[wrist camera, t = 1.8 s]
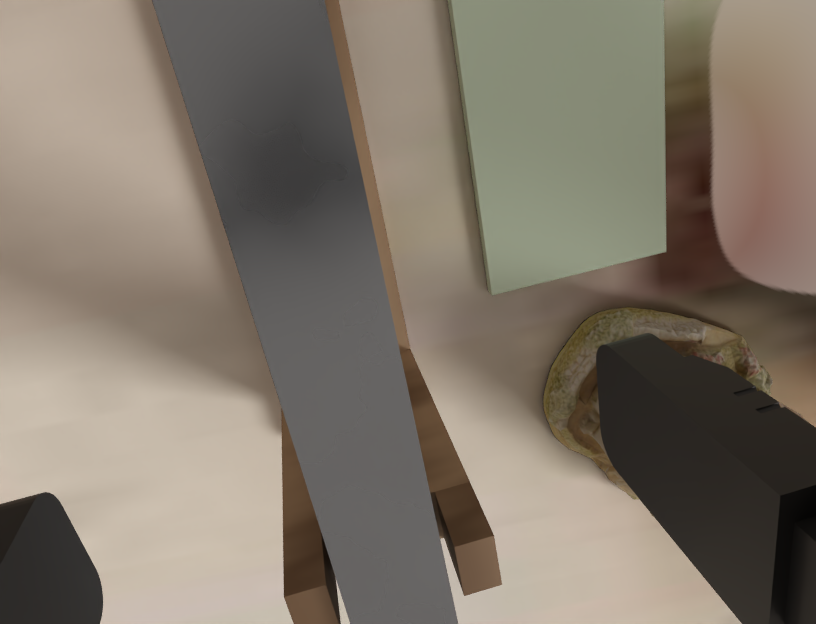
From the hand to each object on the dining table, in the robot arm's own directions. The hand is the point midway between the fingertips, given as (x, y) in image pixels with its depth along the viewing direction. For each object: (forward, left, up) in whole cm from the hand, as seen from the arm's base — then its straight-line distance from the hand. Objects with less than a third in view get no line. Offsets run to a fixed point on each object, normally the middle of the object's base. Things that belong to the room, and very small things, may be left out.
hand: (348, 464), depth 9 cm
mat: (-12, -3, -19) cm, 23 cm away
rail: (0, 0, -8) cm, 8 cm away
